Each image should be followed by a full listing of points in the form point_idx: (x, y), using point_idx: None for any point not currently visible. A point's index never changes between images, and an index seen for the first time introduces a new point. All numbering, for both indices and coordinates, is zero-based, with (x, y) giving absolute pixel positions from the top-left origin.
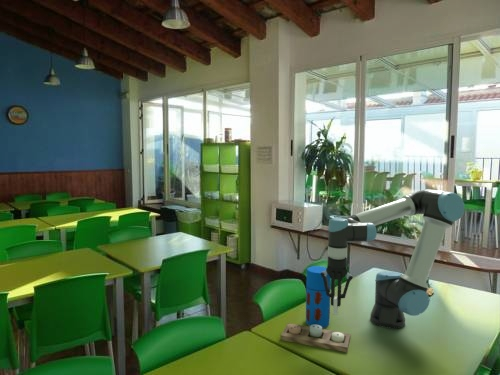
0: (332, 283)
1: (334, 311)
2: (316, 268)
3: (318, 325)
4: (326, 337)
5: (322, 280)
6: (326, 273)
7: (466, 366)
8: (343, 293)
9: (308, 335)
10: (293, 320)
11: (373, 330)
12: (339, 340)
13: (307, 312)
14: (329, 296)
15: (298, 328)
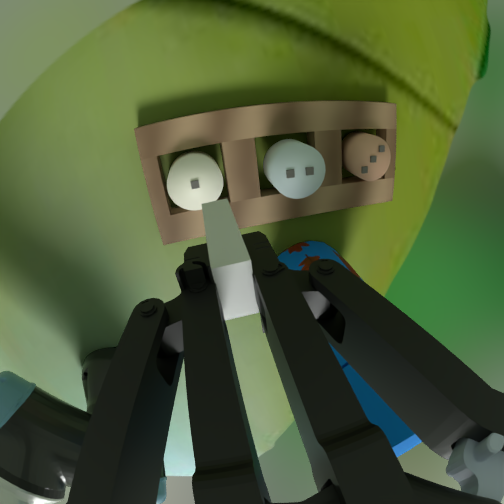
0: (340, 410)
1: (221, 209)
2: (410, 446)
3: (293, 193)
4: (240, 162)
5: (376, 409)
6: (478, 479)
7: None
8: (146, 339)
9: None
10: (374, 247)
11: (127, 321)
12: (179, 159)
13: (354, 270)
14: (301, 270)
15: (359, 156)
